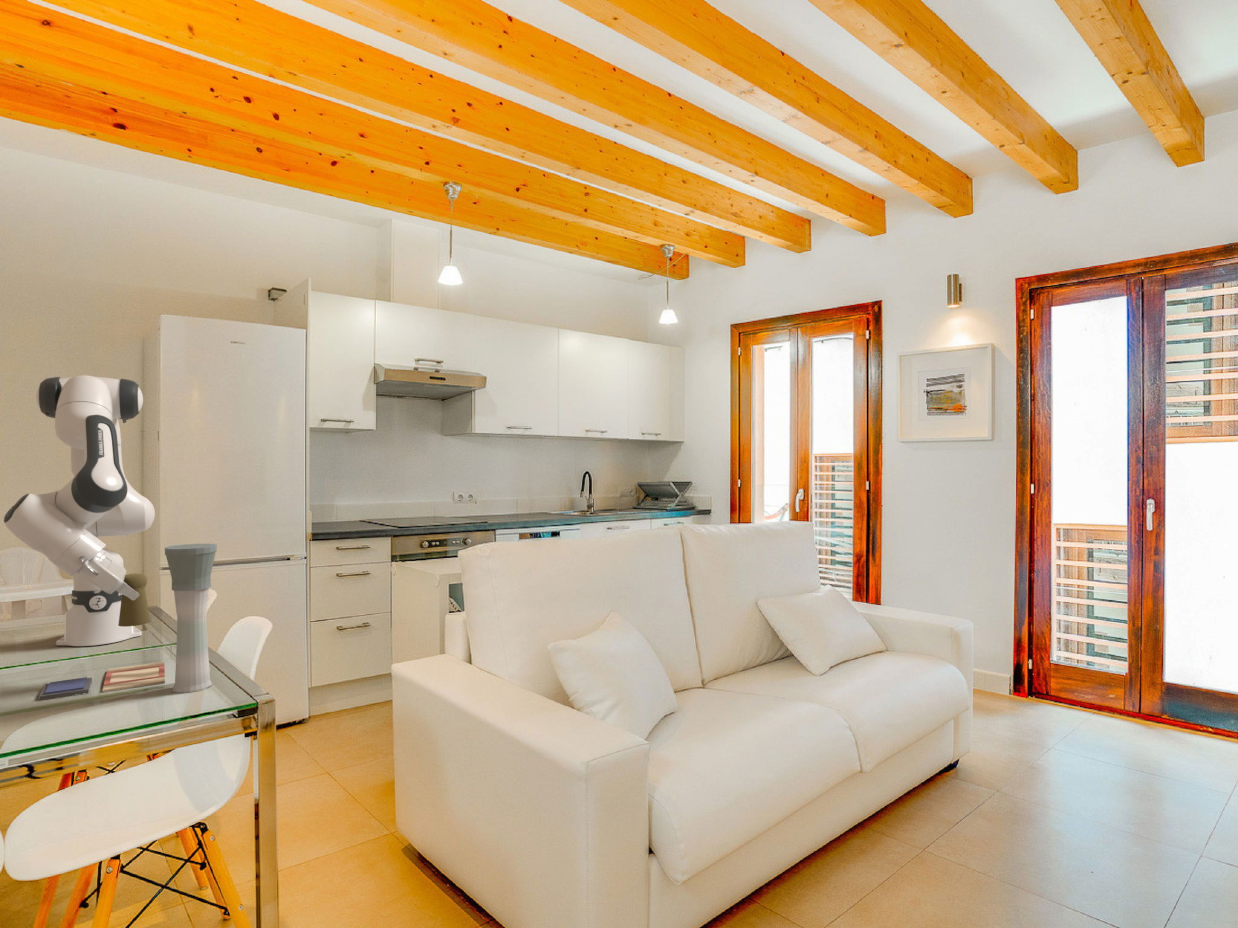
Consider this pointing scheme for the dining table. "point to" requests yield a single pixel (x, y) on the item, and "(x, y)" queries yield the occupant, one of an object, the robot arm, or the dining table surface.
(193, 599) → the container
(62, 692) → the ink pad
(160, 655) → the dining table surface
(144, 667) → the marked board
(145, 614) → the brown tapered round-topped piece
